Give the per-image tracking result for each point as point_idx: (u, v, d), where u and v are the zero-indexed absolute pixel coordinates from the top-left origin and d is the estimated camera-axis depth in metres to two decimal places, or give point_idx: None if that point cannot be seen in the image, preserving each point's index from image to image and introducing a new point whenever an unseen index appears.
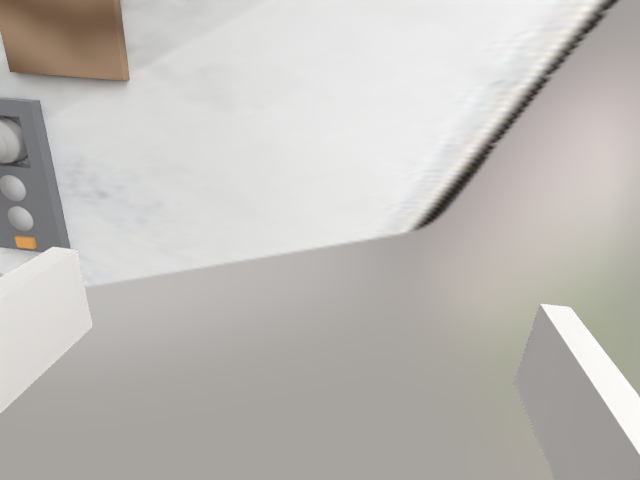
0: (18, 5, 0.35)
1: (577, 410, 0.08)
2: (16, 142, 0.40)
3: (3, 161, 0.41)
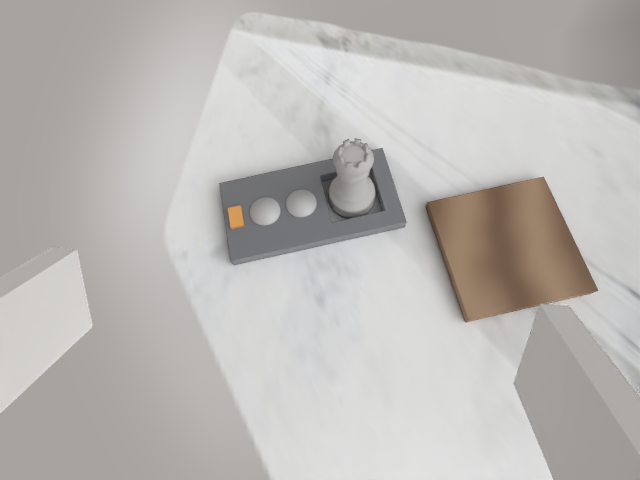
0: (494, 211, 0.37)
1: (577, 410, 0.08)
2: (359, 209, 0.37)
3: (333, 196, 0.37)
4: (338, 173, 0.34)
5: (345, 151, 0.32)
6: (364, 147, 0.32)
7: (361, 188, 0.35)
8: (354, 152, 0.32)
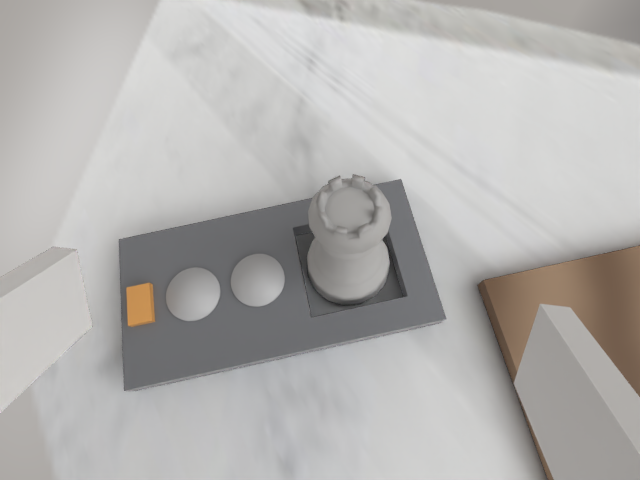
0: (607, 300, 0.20)
1: (576, 410, 0.08)
2: (360, 295, 0.20)
3: (314, 270, 0.21)
4: None
5: (334, 201, 0.16)
6: (372, 194, 0.15)
7: (365, 263, 0.19)
8: (351, 203, 0.16)
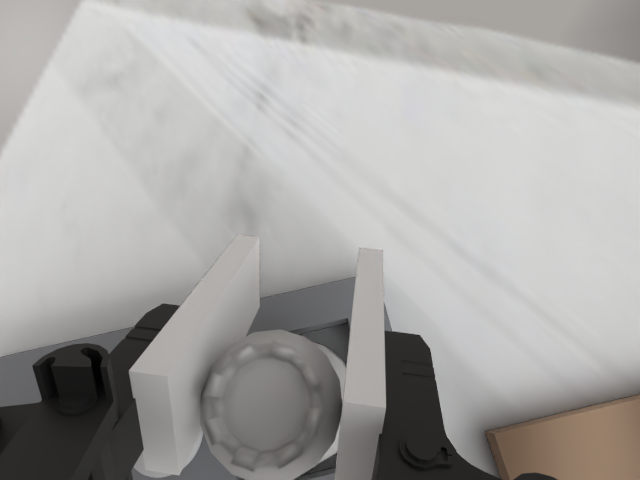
0: None
1: (351, 318, 0.11)
2: None
3: None
4: None
5: (239, 389, 0.09)
6: (305, 379, 0.09)
7: None
8: (269, 394, 0.09)
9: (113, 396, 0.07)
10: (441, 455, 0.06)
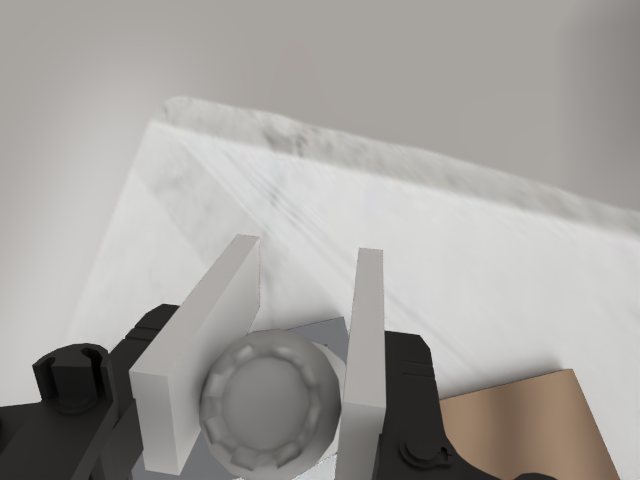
0: (503, 427, 0.25)
1: (351, 318, 0.11)
2: None
3: None
4: None
5: (238, 389, 0.09)
6: (304, 379, 0.09)
7: None
8: (268, 394, 0.09)
9: (113, 396, 0.07)
10: (441, 455, 0.06)
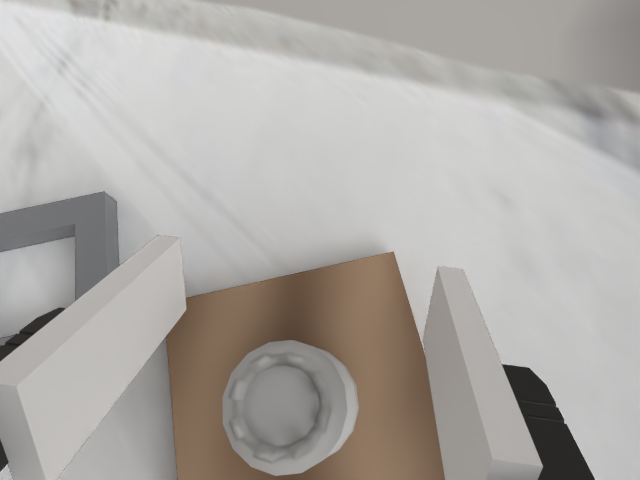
0: (288, 325, 0.18)
1: (446, 347, 0.10)
2: None
3: None
4: None
5: (257, 393, 0.10)
6: (315, 384, 0.10)
7: None
8: (284, 397, 0.10)
9: None
10: None
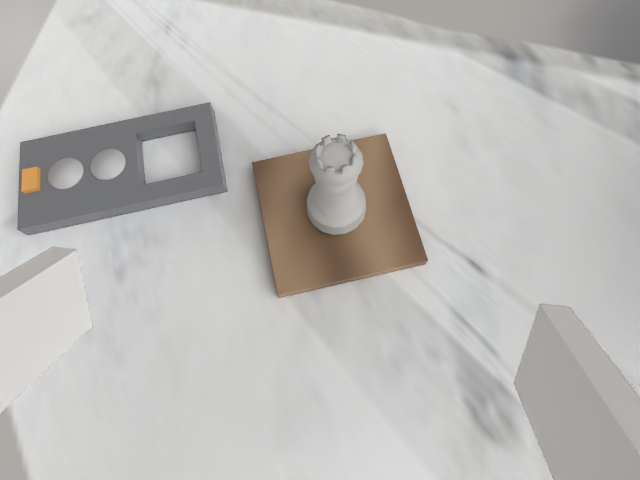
0: None
1: (577, 410, 0.08)
2: (345, 225, 0.29)
3: (312, 208, 0.29)
4: (316, 180, 0.26)
5: (325, 151, 0.24)
6: (350, 146, 0.24)
7: (348, 199, 0.27)
8: (337, 152, 0.24)
9: None
10: None
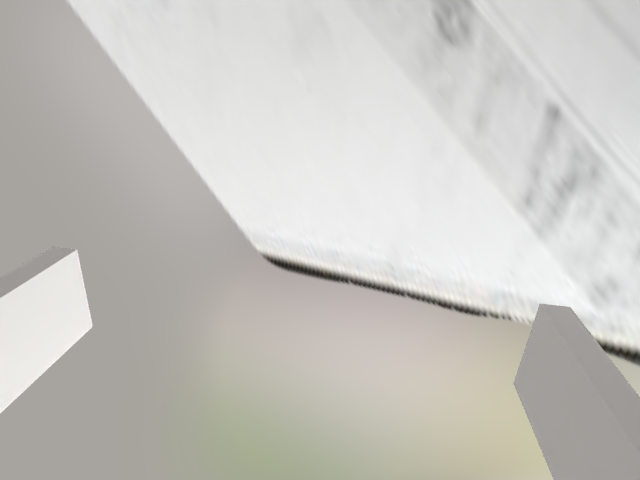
0: None
1: (577, 410, 0.08)
2: None
3: None
4: None
5: None
6: None
7: None
8: None
9: None
10: None
